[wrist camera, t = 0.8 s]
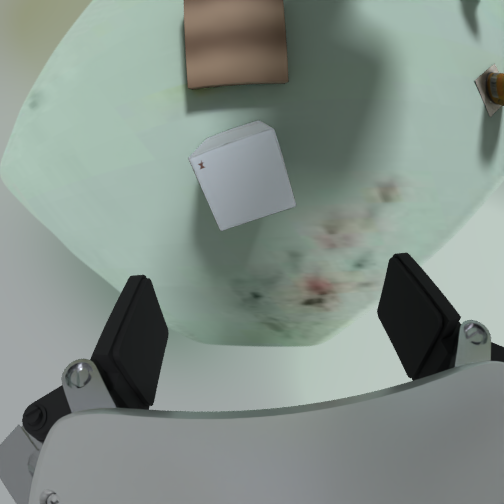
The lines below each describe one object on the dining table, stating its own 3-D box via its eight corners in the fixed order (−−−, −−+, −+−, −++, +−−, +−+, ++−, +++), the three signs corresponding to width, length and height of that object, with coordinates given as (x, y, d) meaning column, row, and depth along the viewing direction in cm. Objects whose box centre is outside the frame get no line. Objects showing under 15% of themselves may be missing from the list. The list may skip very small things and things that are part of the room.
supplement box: (224, 190, 35) (217, 234, 24) (204, 137, 32) (184, 156, 21) (279, 173, 34) (298, 208, 24) (261, 118, 31) (273, 125, 20)
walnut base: (188, 6, 22) (183, -2, 20) (278, 0, 23) (282, -8, 20) (192, 89, 28) (187, 88, 26) (284, 83, 29) (288, 81, 26)
